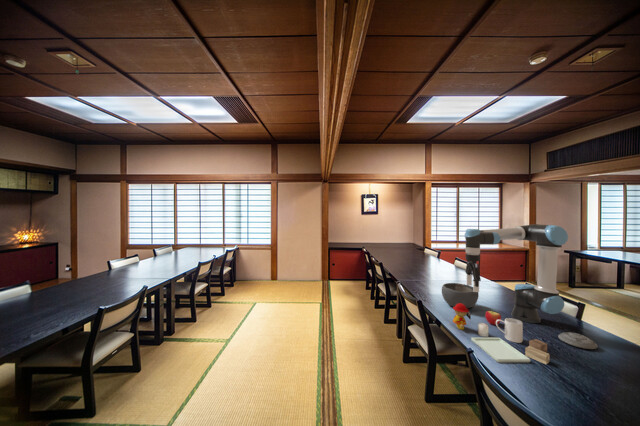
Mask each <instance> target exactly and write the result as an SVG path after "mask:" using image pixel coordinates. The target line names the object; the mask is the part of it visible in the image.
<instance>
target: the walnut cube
mask: <svg viewBox="0 0 640 426" xmlns="http://www.w3.org/2000/svg"><path fill="white" fill-rule="evenodd" d="M528 346H530V347H533V348H535V349H538V350H540V351H543V352H545V353H548V343H546V342H543V341H542V340H540V339H535V338H534V339H531V340H529V345H528Z"/></svg>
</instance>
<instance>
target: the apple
mask: <svg viewBox="0 0 640 426" xmlns="http://www.w3.org/2000/svg"><path fill="white" fill-rule="evenodd" d="M489 309H490V310H487V311H486V312H485V315H484V316H485V319H486V321H487V322H488V323H489V324H490V325H493V326H494V325H495V326H497V325H498V326H499V324H500V323H501V321H498V322H497V325H496V320H502V315H501V314H500V313H498V312H495V311H493V310H492V309H491V308H489Z"/></svg>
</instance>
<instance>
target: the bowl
mask: <svg viewBox="0 0 640 426" xmlns="http://www.w3.org/2000/svg"><path fill="white" fill-rule="evenodd" d="M441 286H442V287H441V294H442V298H443V299H444V301H445V302H446V303H447V304H448V305H449V306H451V307H452V308H453V307H455V306H456V304H458V303H461V304H464V305H465V306H466V308H467V309H471V308H472V307H473V306H475V305H476V304H477V302H478V300H479V297H480V296H479V292H474V291H473V286H472V285H467V284H465V283H458V282H448V283H447V282H446V283H444V284H442V285H441Z"/></svg>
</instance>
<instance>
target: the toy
mask: <svg viewBox="0 0 640 426" xmlns="http://www.w3.org/2000/svg"><path fill="white" fill-rule="evenodd" d="M452 309H453V310H454V313H455V315H454V317H453V319H452V322H453V323H454V324H455V325H456V327H457V328H458V330H463V331H464V330H465V326H466V325H467V321H466V318H465V316H466V317H467V318H468V319H469V320H470V321H471V313H472V312H471V311H470V310H469V308H466V306H465V305H464V304H461V303H458V304H456V306H455V307H453V306H452Z"/></svg>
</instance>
